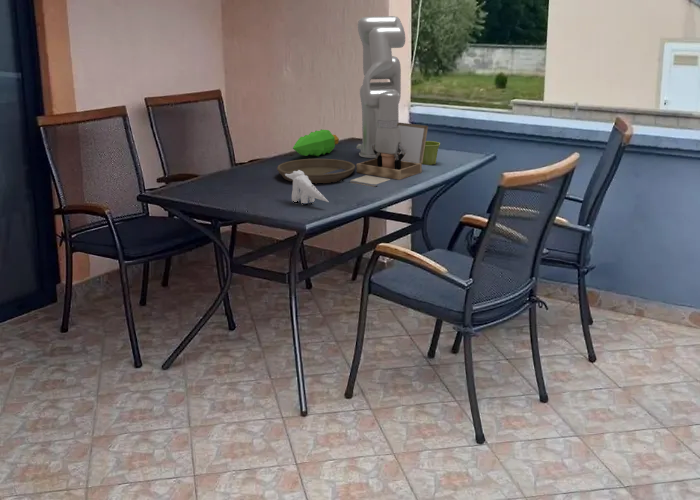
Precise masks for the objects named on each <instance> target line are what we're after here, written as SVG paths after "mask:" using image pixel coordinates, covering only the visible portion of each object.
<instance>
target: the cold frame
mask: <svg viewBox="0 0 700 500" xmlns="http://www.w3.org/2000/svg"><path fill="white" fill-rule="evenodd" d="M422 166H423V164H421V163H417V162H410V161H403V160H401V169H399V170H396V169H390V168H383V167H377V158H371V159H369V160H366V161H362V162H358V163H356V164H355V167H356V174H363V175H368V176H374V177H380V178H386V179H391V180H392V179H393V180H398V181H399V180H403V179H407V178H410V177H412V176H415V175H418V174H422V172H423V171H422Z"/></svg>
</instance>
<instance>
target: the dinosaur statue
mask: <svg viewBox="0 0 700 500" xmlns="http://www.w3.org/2000/svg"><path fill="white" fill-rule="evenodd" d="M285 176H287V177H289V178H291V179H292V180H293V182H292V191H291V201H292V202H293V201H294V202H297V201H298V202H299V201H300V203H301V204H302V203H308V204H309V203H310V202H314V201H315V200H316V199H317V200H320V201H323V202H327V203H330V202H329V200H328V199H327V198H326V197H325V196H324V194H322V193H321V192H320V191H319V190H318V188H316V186H315V185H314V184H312V183H311V181H310V180H309V178H308V176H305V175H304V172H303V171H300V170H298V171H293V173H292V174H285ZM294 202H293V203H294ZM315 202H316V201H315Z"/></svg>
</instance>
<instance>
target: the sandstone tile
mask: <svg viewBox="0 0 700 500" xmlns="http://www.w3.org/2000/svg"><path fill="white" fill-rule="evenodd" d="M391 180H392V178H386V177H379V176H373V175H367V174H364V175H363V176H360V177H356V178H353V179H350V184H354V185H355V184H356V185H360V184H361V186H368V187H373V188H377V187H378V184H381V183H385V182H387V181H391Z"/></svg>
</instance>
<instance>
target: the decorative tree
mask: <svg viewBox="0 0 700 500" xmlns="http://www.w3.org/2000/svg"><path fill="white" fill-rule="evenodd" d="M339 141H340V139H339V137H338V136H337V135H336V134H333V133H331V131H330V130H328V129H319V130H315V131H311V132H310V133H309V134H304V136H300V137H299V138H298V139H297V140H296V142H295V143H294V145H293V147H292V149H293V150H294V151H295V152H296V153H298V154H299V155H300V156H305V157H307V156H311V157H312V156H313V157H320V155H325V154H331V152H332V151H333V150H334V149H335V147H336V145H338V144H339Z"/></svg>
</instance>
